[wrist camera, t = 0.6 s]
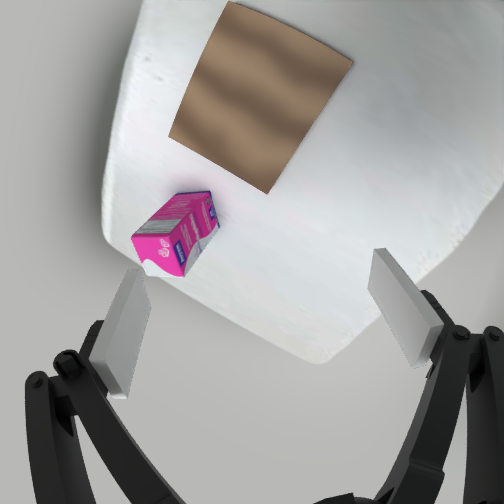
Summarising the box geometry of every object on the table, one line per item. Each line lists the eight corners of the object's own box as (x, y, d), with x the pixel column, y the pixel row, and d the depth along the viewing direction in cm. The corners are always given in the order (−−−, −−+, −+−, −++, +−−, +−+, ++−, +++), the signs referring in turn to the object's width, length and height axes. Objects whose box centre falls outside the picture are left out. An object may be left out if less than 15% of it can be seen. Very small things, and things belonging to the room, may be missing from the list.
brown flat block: (235, 3, 25) (228, 0, 23) (353, 62, 25) (353, 62, 24) (176, 132, 36) (168, 136, 35) (271, 187, 37) (267, 194, 36)
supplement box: (222, 227, 43) (184, 280, 34) (186, 227, 45) (144, 276, 36) (211, 189, 40) (167, 237, 31) (174, 192, 42) (127, 237, 33)
